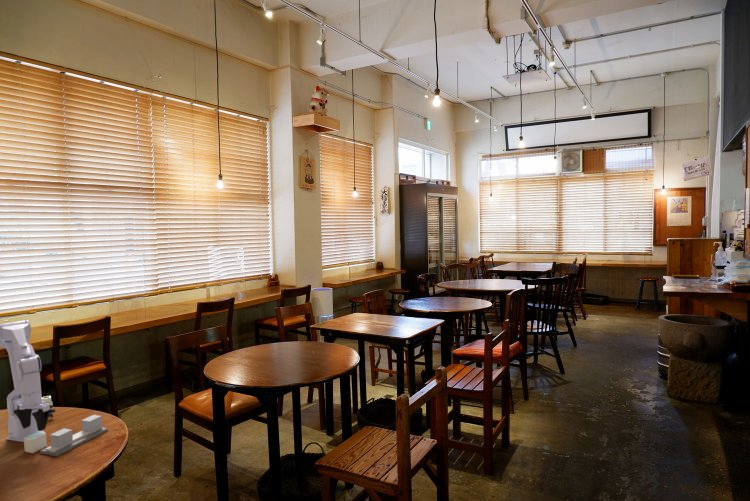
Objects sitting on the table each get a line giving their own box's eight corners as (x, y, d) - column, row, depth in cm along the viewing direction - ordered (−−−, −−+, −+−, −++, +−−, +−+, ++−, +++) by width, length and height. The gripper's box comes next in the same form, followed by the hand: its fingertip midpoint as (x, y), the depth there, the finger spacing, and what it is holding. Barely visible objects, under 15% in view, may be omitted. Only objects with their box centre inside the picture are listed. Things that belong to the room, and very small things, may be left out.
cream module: (24, 451, 163) (23, 437, 163) (39, 444, 168) (37, 431, 167) (32, 453, 162) (31, 438, 161) (46, 446, 166) (45, 432, 166)
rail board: (40, 453, 161) (39, 437, 161) (91, 428, 180) (90, 413, 180) (57, 456, 159) (55, 440, 158) (107, 430, 178) (106, 415, 177)
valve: (37, 412, 197) (36, 422, 187) (36, 397, 197) (34, 406, 187) (56, 408, 201) (56, 418, 191) (55, 394, 200) (54, 402, 190)
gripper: (4, 393, 162) (8, 431, 163) (34, 397, 157) (37, 436, 158) (25, 386, 168) (28, 422, 169) (54, 389, 164) (57, 427, 165)
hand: (34, 428), depth 164 cm, fingers open, 7 cm apart
